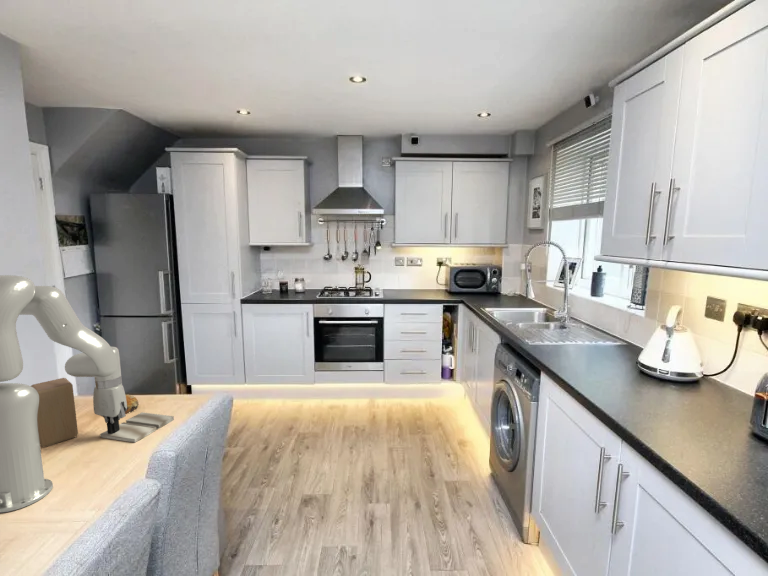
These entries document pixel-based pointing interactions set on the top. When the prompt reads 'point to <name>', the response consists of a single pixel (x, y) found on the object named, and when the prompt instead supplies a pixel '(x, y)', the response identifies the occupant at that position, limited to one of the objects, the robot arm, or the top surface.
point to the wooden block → (56, 412)
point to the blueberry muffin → (131, 403)
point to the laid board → (151, 419)
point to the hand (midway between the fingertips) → (113, 432)
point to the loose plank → (130, 432)
